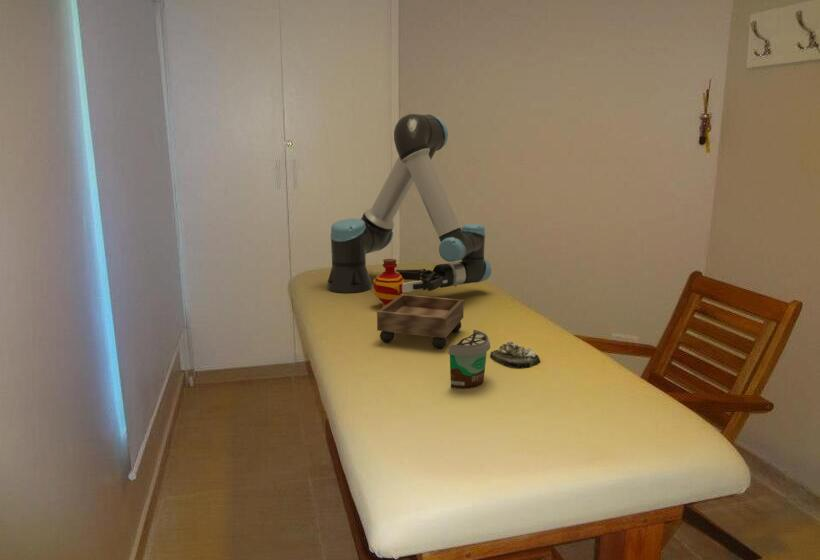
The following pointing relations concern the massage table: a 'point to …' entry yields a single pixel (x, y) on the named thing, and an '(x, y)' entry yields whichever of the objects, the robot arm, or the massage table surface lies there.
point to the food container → (468, 361)
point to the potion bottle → (388, 283)
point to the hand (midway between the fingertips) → (391, 283)
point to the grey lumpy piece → (515, 356)
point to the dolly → (420, 318)
